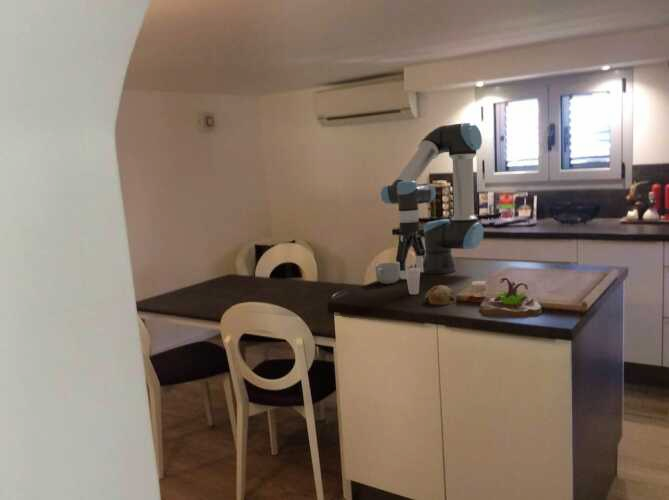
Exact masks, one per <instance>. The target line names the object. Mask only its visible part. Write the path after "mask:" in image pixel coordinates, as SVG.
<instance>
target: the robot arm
mask: <svg viewBox="0 0 669 500" xmlns="http://www.w3.org/2000/svg"><path fill="white" fill-rule="evenodd" d="M482 143H483V138H482V134H481V131H480V128H479V127H478V126H477V125H476V124H475V123H473V122H464V123H463V122H462V123H456V124H447V125H440V126H438V127H437V128H434V129H433V130H431V131H430V132H429V133H428V134H427V135H425V136H424V137H423V139H422V140H421V141H420V142H419V144H418V146H417V147H418V149H417V150H416V151H415V153H414V154H413V156H412V157H411V159H410V160H409V161H408V162H407V164H406V165H405V167H404V168H403V169H402V170H401V172H400V173H399V175H398V176H397V177H396V178H395V179H394V181H393V182H392V184H391V185H384V186H383V187H382V188H381V191H380V199H381V200H382V202H383V203H384V204H387V205H389V204H390V205H398V220H399V224H398V225H399V232H400V233H402V235H399V236H398V245H397V251H396V257H395V261H396V262H397V263H399V264H400V278H399V279H400V280H407V279H408V274H407V268H408V263H407V262H408V261H407V257H408V253H409V250H410V248H411V247H412V248H413V250H414V253H415V254H416V255H415V268H420V269H421V271H420V273H424V274H430V275H431V274H432V275H442V274H443V275H444V274H450V273H454V272H456V271H457V264H456V261H455V259H454V257H453V254H452V250H453V249H454V250H466V251H467V250H475V249H478V248H479V246H480V245H481V243H482V241H483V238H484V231H485V230H484V227H483V224H482V223H481V222H479V219H478V217H477V216H476V215H475V203H474V202H475V201H474V200H475V198H474V197H475V196H474V194H475V193H474V158H475V157H476V156H477V151H479V150H480V149H481V147H482ZM444 153H448V157H449V158H450V159H451V161H452V182H453V183H452V184H453V185H452V187H453V188H452V191H453V195H452V196H453V216H452V217H451V218H444V219H438V220H433V221H427V222H426V223H424V225H423V235H424V239H422V236H421V231H420V222H419V220H420V218H419V205H421V204H428V203H430V202H434V201H433V200H435V198H436V195H437V191H436V188H435V186H434V185H432V183H419V184H417V183H418V182H417V181H418V180H419V179H420V177H421V176H422V174H423V173H424V172H425V170H426V169H427V167H429V165H430V163H431V162H432V161H433V160H434V159H436V158H438V156H439V155H441V154H444ZM423 240H424V242H423ZM423 256H424V260H423Z"/></svg>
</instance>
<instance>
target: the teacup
mask: <svg viewBox="0 0 669 500" xmlns="http://www.w3.org/2000/svg"><path fill="white" fill-rule="evenodd" d="M374 267H375V278H376V280H377V281H378V282H380V283H381V284H385V285H388V284H389V285H390V284H391V283H392V284H395V283H397V281H399V280H400V279H401V278H400V263H399V262H397V263H396V262H379V263H376V264H375V265H374Z"/></svg>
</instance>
